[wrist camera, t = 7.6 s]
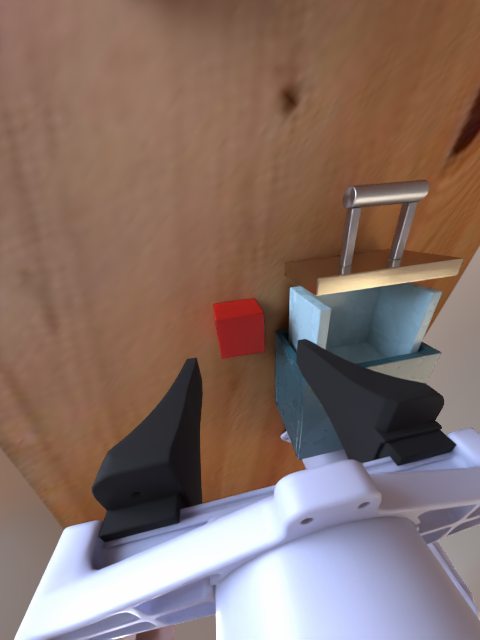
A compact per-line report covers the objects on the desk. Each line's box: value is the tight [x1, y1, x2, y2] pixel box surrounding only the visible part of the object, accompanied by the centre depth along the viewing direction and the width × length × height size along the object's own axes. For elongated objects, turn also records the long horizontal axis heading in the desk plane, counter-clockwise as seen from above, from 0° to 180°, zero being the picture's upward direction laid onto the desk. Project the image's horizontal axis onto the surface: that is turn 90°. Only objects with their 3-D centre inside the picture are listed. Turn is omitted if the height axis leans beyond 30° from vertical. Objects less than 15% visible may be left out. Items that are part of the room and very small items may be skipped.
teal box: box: [275, 329, 441, 460], centre depth 21 cm, size 11×12×7 cm
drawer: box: [285, 180, 464, 364], centre depth 16 cm, size 15×10×6 cm
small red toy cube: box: [213, 298, 265, 359], centre depth 18 cm, size 4×4×3 cm
